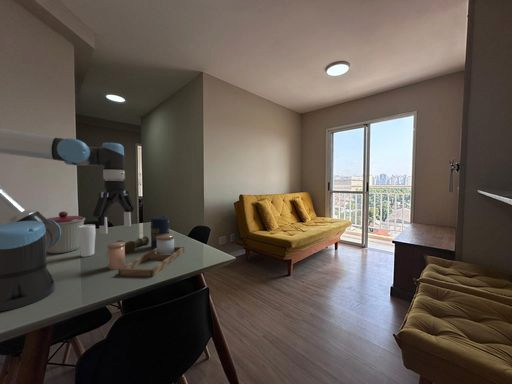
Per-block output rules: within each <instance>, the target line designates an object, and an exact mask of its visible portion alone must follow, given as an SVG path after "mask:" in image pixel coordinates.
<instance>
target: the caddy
mask: <svg viewBox="0 0 512 384" xmlns="http://www.w3.org/2000/svg"><path fill="white" fill-rule="evenodd" d="M184 253H185V246H174V253H173V254H157V248H153V249H152V250H150V251H148V252H146V253H144V254H142V255H141V256H140V257H138V258H136V259H134V260H132V261H130V262H129V263H127V264H125V266H123V267H121V268H120V269H117V270H118V276H123V277H125V276H126V277H152V278H153V277H154V276H155V275H157V274H158V273H159V272H161V271H162V270H163V269H165V268H166V267H167V266H168V265H169V264H171V263H172V262H173V261H175V260H176V259H177V258H179V256H181V255H182V254H184ZM147 260H152V261H153V260H154V261H161V262H160V263H158V264H157V265H155V266H154V267H153V268H136V267H138V266H139V265H141V264H142V263H144V262H145V261H147Z"/></svg>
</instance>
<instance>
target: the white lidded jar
mask: <svg viewBox="0 0 512 384" xmlns="http://www.w3.org/2000/svg"><path fill="white" fill-rule="evenodd" d="M175 236H176V235H175V233H169V234H161V235H157V236H156V239H157V254H173V253H175V252H174V247H175Z"/></svg>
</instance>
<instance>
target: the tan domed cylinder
mask: <svg viewBox="0 0 512 384" xmlns="http://www.w3.org/2000/svg"><path fill="white" fill-rule="evenodd" d="M125 243H126V242H125V241H124V242H117V241H116V242H111V243H108V244H107V245H106V246H107V263H108V265H107V266H108V267H107V269H108V270H118V269H120V268H121V267H123V266H125V265H126V251H125Z"/></svg>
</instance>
